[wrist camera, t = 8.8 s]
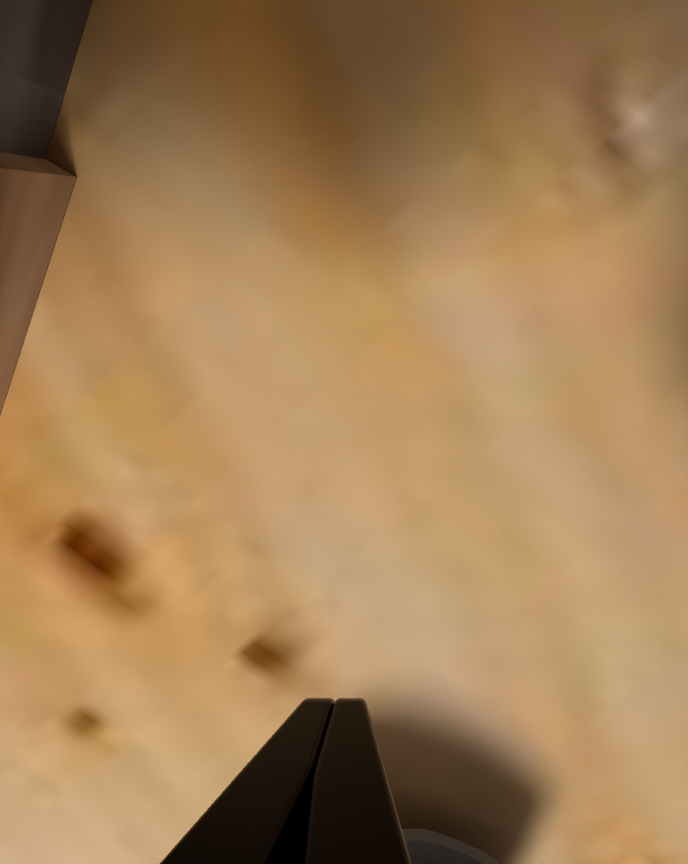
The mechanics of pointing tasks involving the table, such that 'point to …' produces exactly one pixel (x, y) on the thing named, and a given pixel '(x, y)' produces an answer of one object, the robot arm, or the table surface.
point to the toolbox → (31, 155)
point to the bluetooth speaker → (441, 849)
